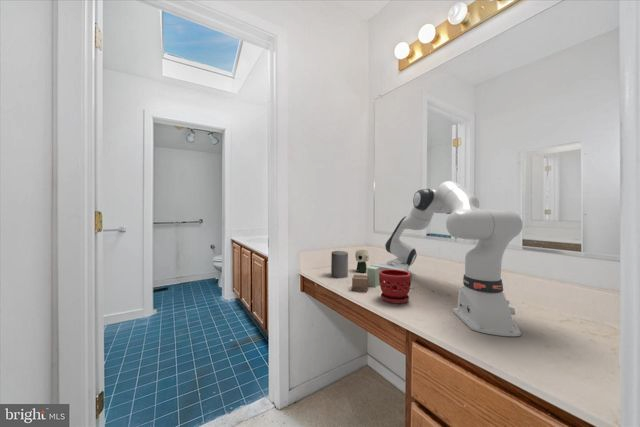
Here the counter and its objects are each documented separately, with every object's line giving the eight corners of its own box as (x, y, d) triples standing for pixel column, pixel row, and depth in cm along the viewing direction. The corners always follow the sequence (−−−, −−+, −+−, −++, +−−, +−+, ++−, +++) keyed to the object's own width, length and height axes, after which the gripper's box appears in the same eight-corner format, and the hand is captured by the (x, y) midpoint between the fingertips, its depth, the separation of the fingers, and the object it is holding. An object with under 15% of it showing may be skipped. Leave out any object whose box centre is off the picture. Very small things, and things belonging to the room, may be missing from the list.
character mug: (351, 270, 157) (351, 249, 157) (359, 269, 161) (359, 248, 161) (363, 274, 148) (364, 252, 148) (372, 272, 152) (372, 251, 152)
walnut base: (367, 292, 118) (367, 279, 118) (352, 290, 120) (352, 278, 120) (368, 287, 125) (368, 275, 124) (354, 286, 126) (354, 274, 126)
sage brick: (371, 283, 131) (371, 266, 131) (379, 285, 128) (379, 267, 128) (367, 285, 128) (367, 267, 128) (375, 287, 125) (375, 269, 125)
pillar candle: (328, 274, 148) (328, 249, 147) (342, 272, 152) (342, 248, 151) (336, 279, 139) (336, 252, 138) (351, 277, 143) (351, 250, 143)
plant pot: (417, 301, 106) (417, 273, 106) (395, 308, 99) (396, 277, 99) (393, 292, 117) (393, 266, 117) (372, 297, 111) (372, 270, 110)
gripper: (377, 259, 152) (365, 263, 142) (411, 264, 139) (400, 269, 128) (377, 270, 152) (365, 274, 142) (410, 276, 139) (400, 281, 128)
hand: (382, 272), depth 135 cm, fingers open, 8 cm apart
